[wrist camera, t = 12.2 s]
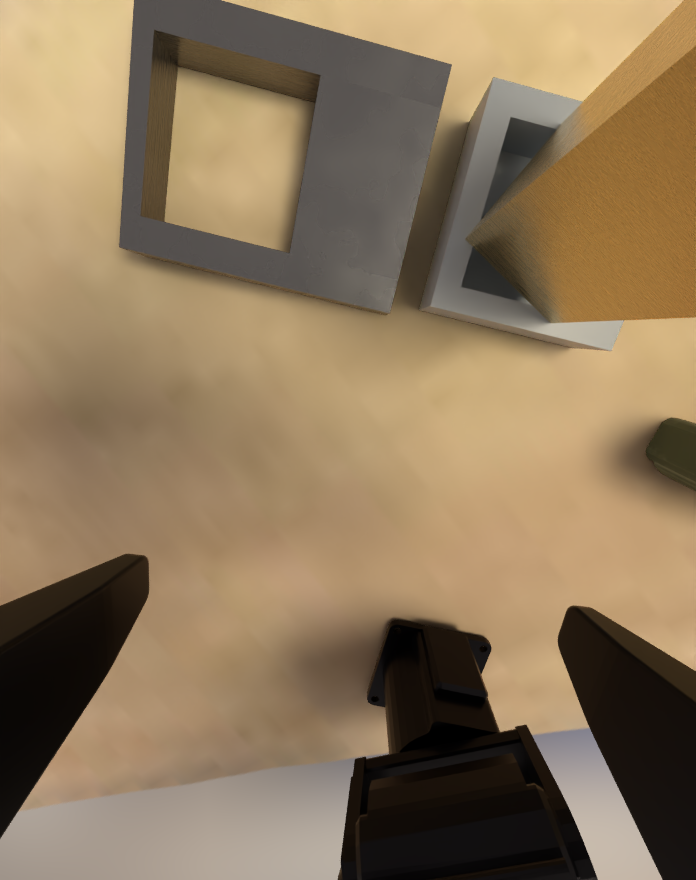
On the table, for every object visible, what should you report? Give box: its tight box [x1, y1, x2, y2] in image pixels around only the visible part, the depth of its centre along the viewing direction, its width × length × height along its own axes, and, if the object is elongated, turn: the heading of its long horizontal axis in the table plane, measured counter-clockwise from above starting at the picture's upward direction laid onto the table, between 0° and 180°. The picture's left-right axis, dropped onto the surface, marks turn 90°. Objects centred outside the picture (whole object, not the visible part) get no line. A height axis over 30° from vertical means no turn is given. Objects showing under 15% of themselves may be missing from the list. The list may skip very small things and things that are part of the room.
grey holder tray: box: [119, 0, 452, 315], centre depth 16 cm, size 12×9×2 cm
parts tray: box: [419, 77, 624, 351], centre depth 16 cm, size 8×8×3 cm
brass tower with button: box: [465, 0, 696, 323], centre depth 9 cm, size 5×5×12 cm
